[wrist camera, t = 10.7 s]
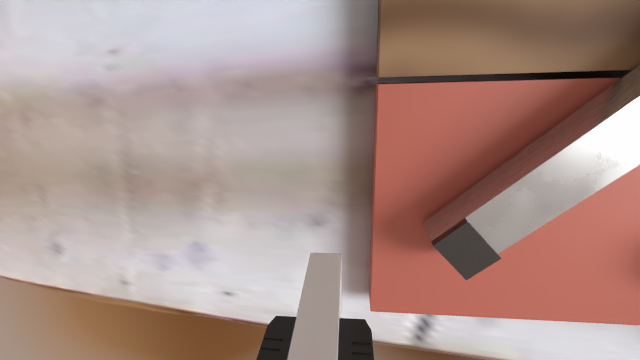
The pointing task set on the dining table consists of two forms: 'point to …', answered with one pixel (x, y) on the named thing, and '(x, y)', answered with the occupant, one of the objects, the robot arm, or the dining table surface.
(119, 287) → the dining table surface
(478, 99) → the door slab
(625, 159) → the swing bar
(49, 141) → the dining table surface
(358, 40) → the dining table surface
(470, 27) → the strip
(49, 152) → the dining table surface
